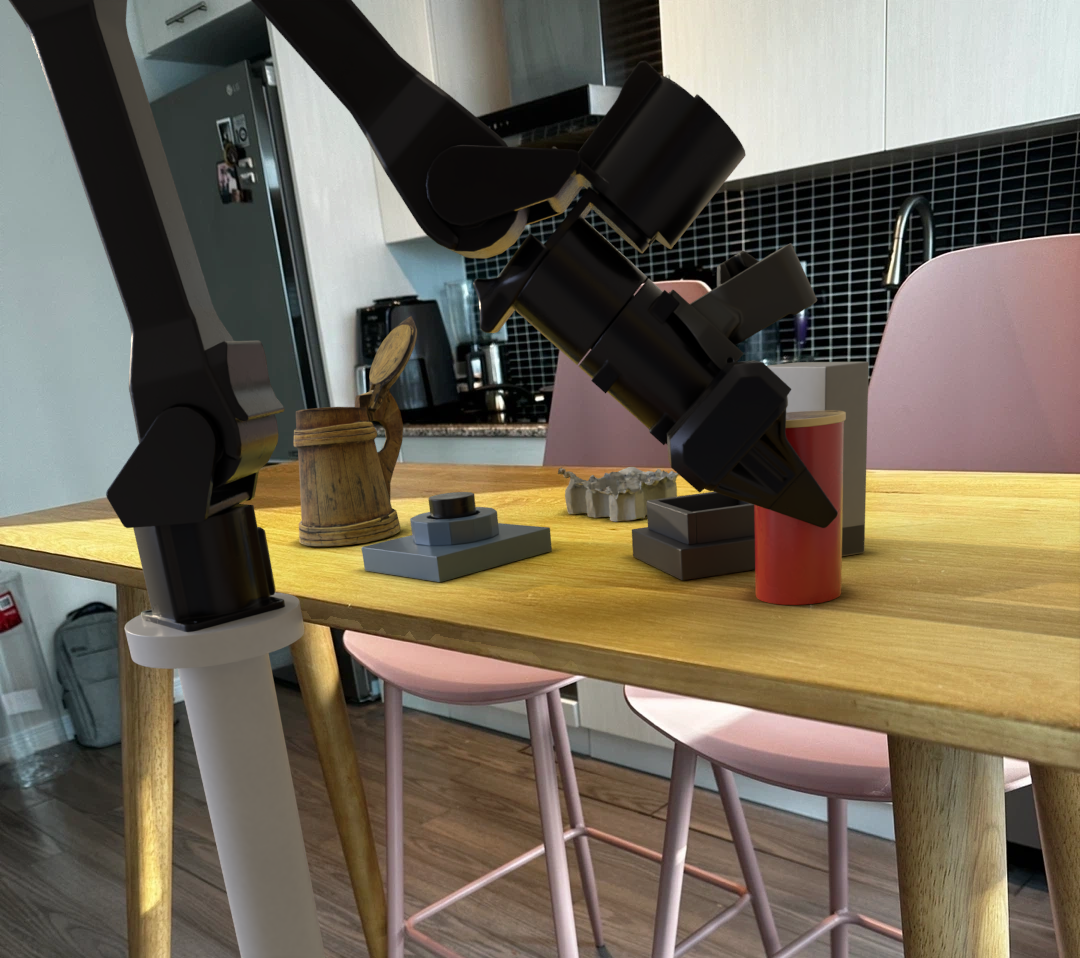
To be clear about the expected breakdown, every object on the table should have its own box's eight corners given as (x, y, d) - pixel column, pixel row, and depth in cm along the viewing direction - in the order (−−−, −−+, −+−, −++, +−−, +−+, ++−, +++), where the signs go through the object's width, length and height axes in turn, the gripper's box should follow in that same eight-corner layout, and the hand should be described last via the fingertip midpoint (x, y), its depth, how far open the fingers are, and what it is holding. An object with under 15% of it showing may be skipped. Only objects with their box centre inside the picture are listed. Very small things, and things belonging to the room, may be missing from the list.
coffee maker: (682, 580, 65) (674, 382, 61) (632, 557, 73) (622, 380, 69) (864, 553, 68) (869, 361, 64) (797, 533, 76) (797, 362, 72)
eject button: (451, 524, 74) (448, 500, 73) (421, 522, 76) (419, 498, 76) (486, 516, 76) (483, 492, 76) (456, 514, 79) (454, 491, 78)
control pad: (440, 582, 71) (433, 532, 70) (364, 570, 77) (357, 524, 76) (552, 551, 78) (548, 504, 77) (474, 542, 84) (469, 499, 83)
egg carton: (556, 513, 95) (552, 468, 93) (623, 500, 98) (621, 457, 97) (619, 524, 86) (615, 474, 85) (691, 510, 89) (689, 462, 88)
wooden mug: (462, 524, 93) (438, 311, 87) (323, 551, 86) (286, 322, 80) (416, 516, 100) (391, 319, 94) (284, 540, 93) (248, 329, 87)
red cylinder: (789, 610, 56) (789, 422, 53) (736, 594, 61) (732, 419, 57) (862, 594, 58) (865, 411, 55) (805, 580, 62) (805, 409, 59)
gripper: (736, 164, 44) (990, 410, 46) (703, 212, 61) (889, 389, 64) (567, 376, 47) (812, 593, 50) (581, 364, 65) (762, 526, 67)
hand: (822, 513), depth 58 cm, fingers closed on red cylinder, 5 cm apart
